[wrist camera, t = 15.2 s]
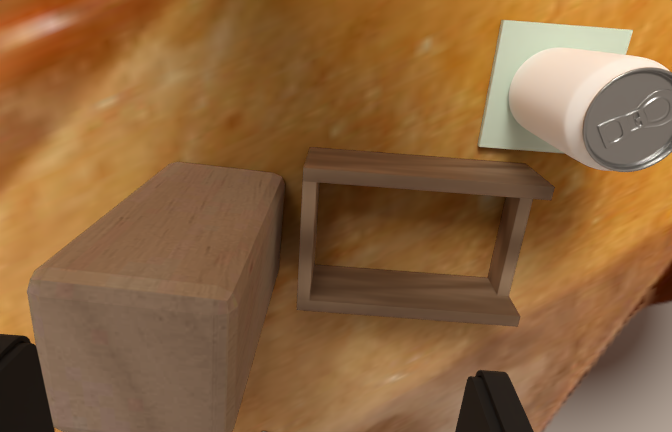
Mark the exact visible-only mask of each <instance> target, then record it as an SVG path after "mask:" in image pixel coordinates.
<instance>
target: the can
mask: <svg viewBox="0 0 672 432" xmlns="http://www.w3.org/2000/svg"><path fill="white" fill-rule="evenodd" d="M509 106H510V110H511V113H512V115H513V117H514V118H515V120H516V121H517V122H518V123H519V124H520V125H521V126H522V127H524V128H525V129H526V130H528V131H529V132H531V133H533V134H534V135H536V136H537V137H539V138H541V139H542V140H544V141H546V142H547V143H549V144H550V145H552V146H554V147H555V148H557V149H559V150H560V151H562V152H564V153H565V154H567V155H569V156H570V157H572V158H574V159H575V160H577V161H579V162H581V163H583V164H584V165H586V166H589V167H592V168H595V169H599V170H606V171H618V172H632V171H638V170H642V169H645V168H648V167H650V166H652V165H654V164H656V163H658V162H659V161H661V160H662V159H664V158H665V157H666V156H668V155H669V154H670V153H671V152H672V72H670V71H669V70H668V69H667V68H665V67H664V66H663V65H661V64H660V63H658V62H656V61H653V60H650V59H647V58H642V57H637V56H630V55H623V54H615V53H607V52H599V51H590V50H582V49H573V48H561V47H559V48H550V49H546V50H543V51H540V52H538V53H536V54H535V55H533V56H531V57H530V58H529V59H527V60H526V61H525V62H524V63H523V64H522V65H521V66H520V68H519V69H518V70H517V72H516V74H515V75H514V77H513V79H512V82H511V85H510V89H509Z"/></svg>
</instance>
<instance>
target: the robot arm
mask: <svg viewBox="0 0 672 432" xmlns="http://www.w3.org/2000/svg"><path fill="white" fill-rule="evenodd" d="M0 432H55V431H54V426H53V422H52V417H51V412H50V408H49V403H48V398H47V394H46V389H45V384H44V380H43V375H42V370H41V365H40V361H39V356H38V351H37V348H36V346H35V345H34V344H32V343H30V340H29V339H28V338H27V337H26V336H19V335H6V334H0ZM455 432H534V431H533V429H532V427H531V425H530V423H529V420H528V418H527V416H526V414H525V411H524V409H523V407H522V405H521V403H520V400H519V398H518V396H517V394H516V391H515V389H514V387H513V385H512V382H511V380H510V378H509V376H508V375H507V373H505V372H498V371H485V370H479V371H478V372H477V373H476V376H475V377H472V376H470V377H468V379H467V383H466V387H465V392H464V396H463V400H462V405H461V409H460V414H459V418H458V422H457V427H456V431H455Z"/></svg>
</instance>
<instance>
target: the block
mask: <svg viewBox="0 0 672 432" xmlns="http://www.w3.org/2000/svg"><path fill="white" fill-rule="evenodd" d="M284 193H285V184H284V181H283V178H282V176H279V175H277V174H275V173H271V172H263V171H254V170H245V169H236V168H228V167H219V166H210V165H201V164H193V163H184V162H175V163H171V164H169V165H167V166H166V167H165V168H163V169H162V170H161V171H160V172H158V173H157V174H156V175H155V176H153V177H152V178H151V179H150V180H148V181H147V182H146V183H145V184H143V185H142V186H141V187H140V188H138V189H137V190H136V191H134V192H133V193H132V194H131V195H129V196H128V197H127V198H126V199H124V200H123V201H122V202H121V203H119V204H118V205H117V206H116V207H114V208H113V209H112V210H111V211H109V212H108V213H107V214H106V215H104V216H103V217H102V218H100V219H99V220H98V221H97V222H95V223H94V224H93V225H92V226H90V227H89V228H88V229H87V230H85V231H84V232H83V233H82V234H80V235H79V236H78V237H77V238H75V239H74V240H73V241H72V242H70V243H69V244H68V245H66V246H65V247H64V248H63V249H61V250H60V251H59V252H58V253H56V254H55V255H54V256H53V257H51V258H50V259H49V260H48V261H46V262H45V263H44V264H43V265H41V266H40V267H39V268H37V269H36V270H35V271H34V273H33V275H32V277H31V279H30V282H29V286H28V290H27V294H28V300H29V306H30V312H31V318H32V324H33V330H34V336H35V343H36V348H37V351H38V356H39V361H40V365H41V370H42V375H43V380H44V384H45V389H46V394H47V398H48V403H49V408H50V412H51V417H52V422H53V426H54V427H55V428H57V429H59V430H61V431H63V432H232V431H233V429H234V426H235V423H236V419H237V416H238V412H239V408H240V405H241V401H242V398H243V394H244V391H245V387H246V384H247V380H248V377H249V373H250V369H251V366H252V362H253V359H254V355H255V352H256V348H257V345H258V341H259V338H260V334H261V331H262V327H263V323H264V320H265V316H266V313H267V309H268V306H269V302H270V299H271V295H272V292H273V288H274V285H275V281H276V277H277V274H278V270H279V261H280V247H281V234H282V220H283V207H284Z"/></svg>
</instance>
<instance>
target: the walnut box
mask: <svg viewBox="0 0 672 432" xmlns="http://www.w3.org/2000/svg"><path fill="white" fill-rule="evenodd" d="M320 183H332V184H345V185H359V186H372V187H385V188H398V189H411V190H424V191H437V192H450V193H463V194H476V195H489V196H502V197H506V199H505V203H504V208H503V212H502V217H501V221H500V225H499V230H498V234H497V239H496V243H495V248H494V252H493V256H492V261H491V265H490V270H489V274H488V278H485V277H471V276H458V275H445V274H432V273H419V272H406V271H392V270H379V269H366V268H353V267H340V266H327V265H315V251H316V235H317V218H318V202H319V186H320ZM554 188H555V187H554V186H553V185H551V184H550V183H549V182H548V181H546V180H545V179H544V178H543V177H542V176H540V175H539V174H538V173H537V172H535V171H534V170H533V169H532V168H530V167H529V166H528V165H527V164H524V163H511V162H498V161H485V160H472V159H459V158H446V157H433V156H420V155H407V154H394V153H381V152H368V151H355V150H342V149H329V148H316V147H310V148H309V151H308V155H307V158H306V161H305V164H304V167H303V186H302V207H301V229H300V250H299V271H298V293H297V310H304V311H317V312H330V313H343V314H357V315H370V316H383V317H396V318H410V319H423V320H436V321H449V322H463V323H476V324H489V325H502V326H516V327H518V324H519V320H520V315H519V313H518V311H517V310H516V308H515V306H514V304H513V303H512V301H511V299H510V297H509V293H510V289H511V285H512V281H513V277H514V273H515V269H516V265H517V261H518V257H519V253H520V249H521V245H522V241H523V237H524V233H525V229H526V225H527V221H528V217H529V213H530V209H531V205H532V201H533V199H541V200H551V199H552V196H553V192H554Z"/></svg>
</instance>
